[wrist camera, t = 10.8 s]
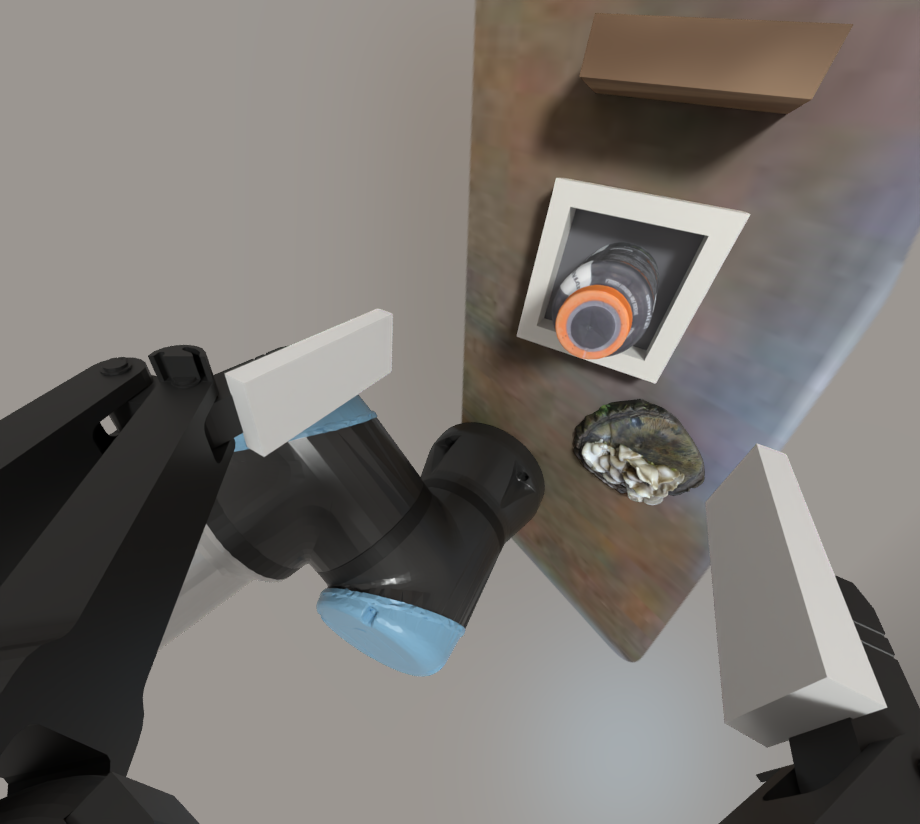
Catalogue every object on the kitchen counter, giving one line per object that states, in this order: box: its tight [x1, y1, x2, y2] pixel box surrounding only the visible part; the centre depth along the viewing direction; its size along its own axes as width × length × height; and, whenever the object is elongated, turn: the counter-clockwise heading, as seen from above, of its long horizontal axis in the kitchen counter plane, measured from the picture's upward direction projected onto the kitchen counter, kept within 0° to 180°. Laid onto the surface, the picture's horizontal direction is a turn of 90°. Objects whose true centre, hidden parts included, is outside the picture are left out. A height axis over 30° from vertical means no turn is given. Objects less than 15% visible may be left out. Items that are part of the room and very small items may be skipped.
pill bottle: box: [552, 242, 659, 359], centre depth 24 cm, size 6×6×11 cm
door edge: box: [579, 13, 853, 114], centre depth 19 cm, size 2×11×5 cm, turn 82°
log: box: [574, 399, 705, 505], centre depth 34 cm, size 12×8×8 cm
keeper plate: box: [516, 178, 750, 384], centre depth 27 cm, size 12×12×2 cm
